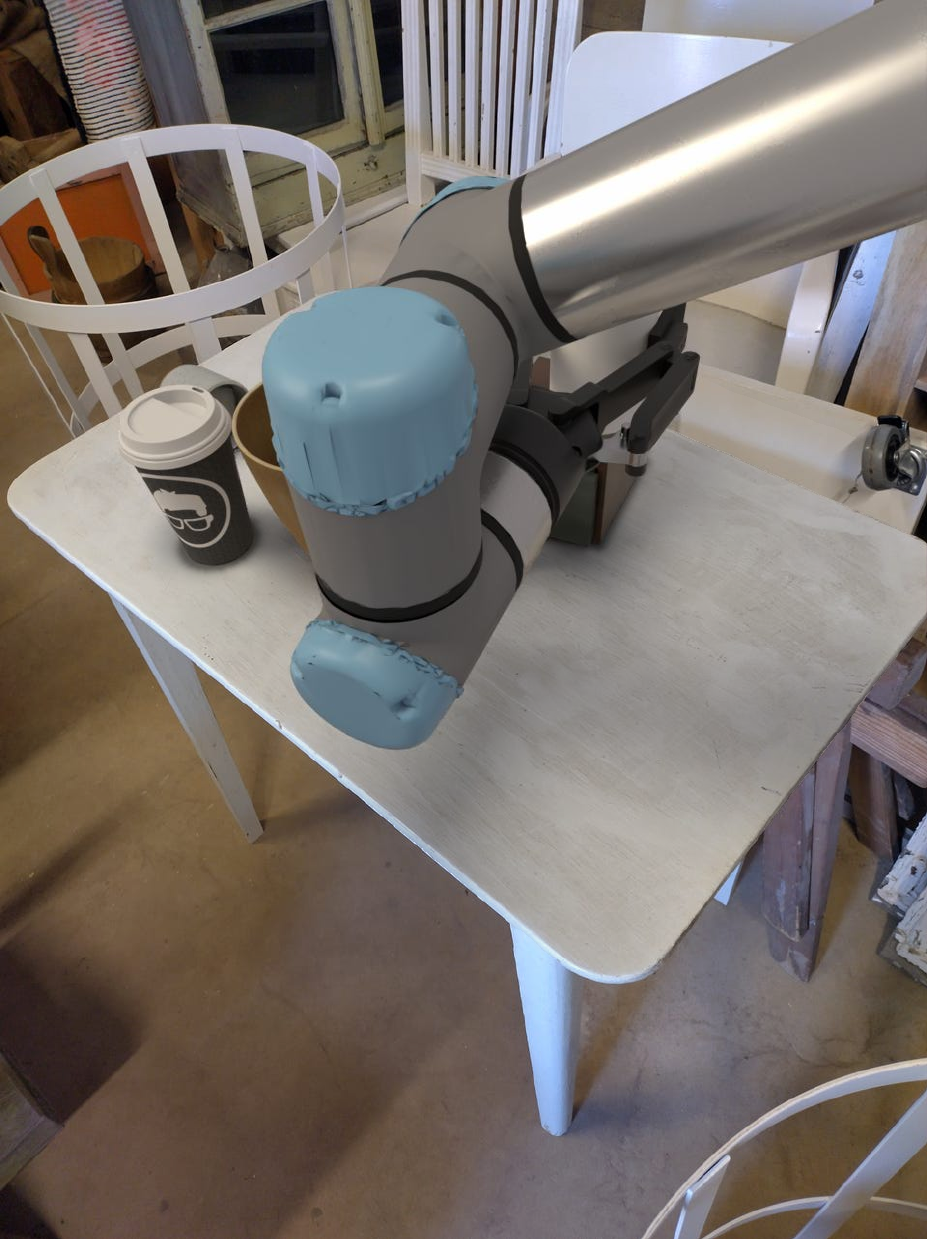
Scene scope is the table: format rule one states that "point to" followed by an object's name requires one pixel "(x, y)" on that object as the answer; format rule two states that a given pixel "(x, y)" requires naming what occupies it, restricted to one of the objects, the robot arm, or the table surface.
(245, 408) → the plant pot
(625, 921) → the table surface
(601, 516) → the cabinet
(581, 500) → the drawer
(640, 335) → the can
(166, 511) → the coffee cup
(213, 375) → the ceramic mug
